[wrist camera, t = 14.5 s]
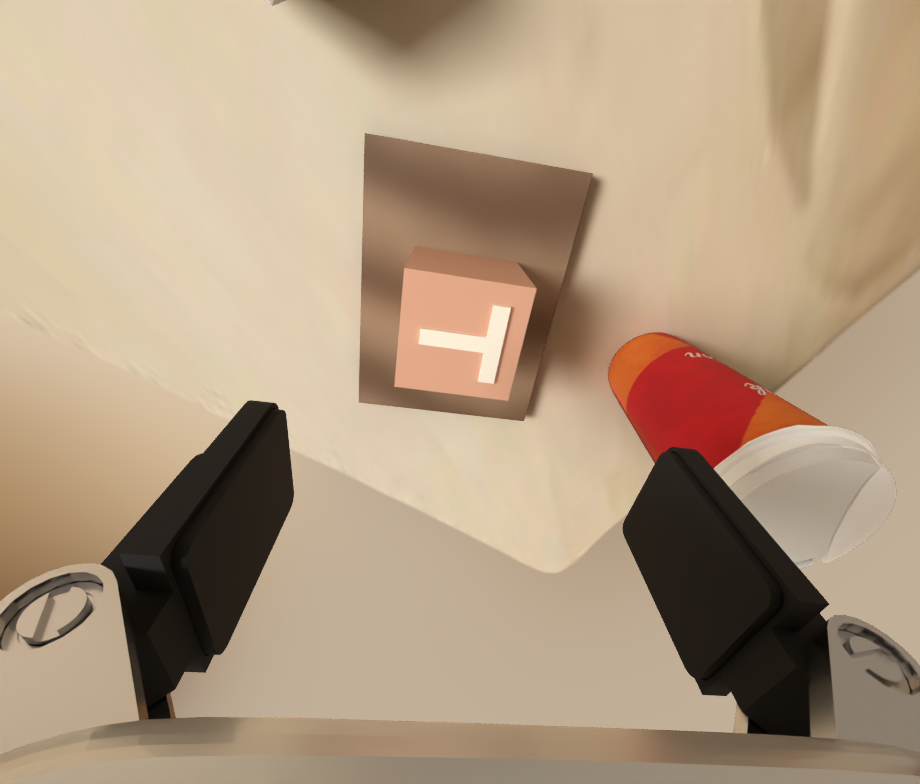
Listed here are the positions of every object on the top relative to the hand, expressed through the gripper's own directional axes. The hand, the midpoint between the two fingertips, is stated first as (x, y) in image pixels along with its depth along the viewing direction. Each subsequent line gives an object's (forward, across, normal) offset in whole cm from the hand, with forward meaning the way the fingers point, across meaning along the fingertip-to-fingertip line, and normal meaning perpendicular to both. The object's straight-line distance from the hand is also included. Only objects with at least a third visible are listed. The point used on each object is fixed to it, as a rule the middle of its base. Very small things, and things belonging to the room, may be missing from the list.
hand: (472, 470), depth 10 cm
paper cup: (+17, -14, +4) cm, 22 cm away
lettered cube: (+16, 0, +1) cm, 16 cm away
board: (+17, 0, +1) cm, 17 cm away
